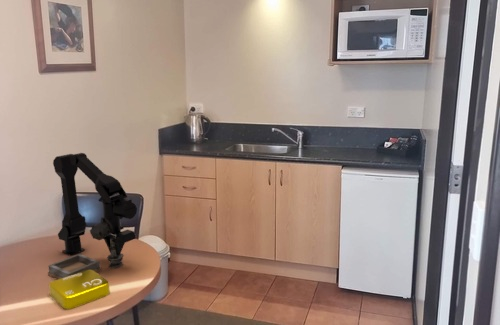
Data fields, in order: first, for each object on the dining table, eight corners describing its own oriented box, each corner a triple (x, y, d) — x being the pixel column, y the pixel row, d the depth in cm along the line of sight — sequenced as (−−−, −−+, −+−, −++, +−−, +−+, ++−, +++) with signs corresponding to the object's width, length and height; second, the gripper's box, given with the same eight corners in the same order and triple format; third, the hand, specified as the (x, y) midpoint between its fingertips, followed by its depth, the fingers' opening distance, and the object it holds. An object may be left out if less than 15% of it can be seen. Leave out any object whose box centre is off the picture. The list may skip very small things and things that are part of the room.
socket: (48, 275, 158) (47, 265, 158) (80, 262, 169) (79, 253, 168) (69, 284, 151) (68, 274, 150) (101, 270, 161) (100, 261, 160)
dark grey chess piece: (118, 260, 170) (115, 230, 167) (127, 264, 166) (125, 234, 164) (104, 265, 165) (101, 235, 163) (113, 270, 162) (111, 239, 159)
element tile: (92, 279, 156) (91, 266, 155) (112, 294, 145) (111, 281, 144) (48, 294, 146) (46, 281, 145) (66, 312, 135) (64, 297, 134)
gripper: (77, 215, 160) (81, 255, 164) (109, 225, 150) (113, 268, 153) (103, 207, 169) (106, 245, 173) (135, 216, 159) (138, 256, 162)
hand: (115, 253), depth 165 cm, fingers closed on dark grey chess piece, 3 cm apart
